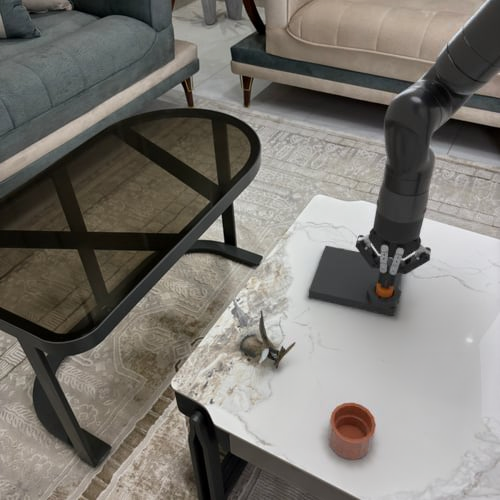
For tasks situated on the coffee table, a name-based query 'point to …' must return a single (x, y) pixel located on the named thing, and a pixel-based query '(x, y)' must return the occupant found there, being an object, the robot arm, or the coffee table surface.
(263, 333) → the eagle figurine
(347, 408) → the brown cup
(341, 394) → the coffee table surface
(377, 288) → the button
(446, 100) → the robot arm
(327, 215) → the coffee table surface
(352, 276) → the scale
